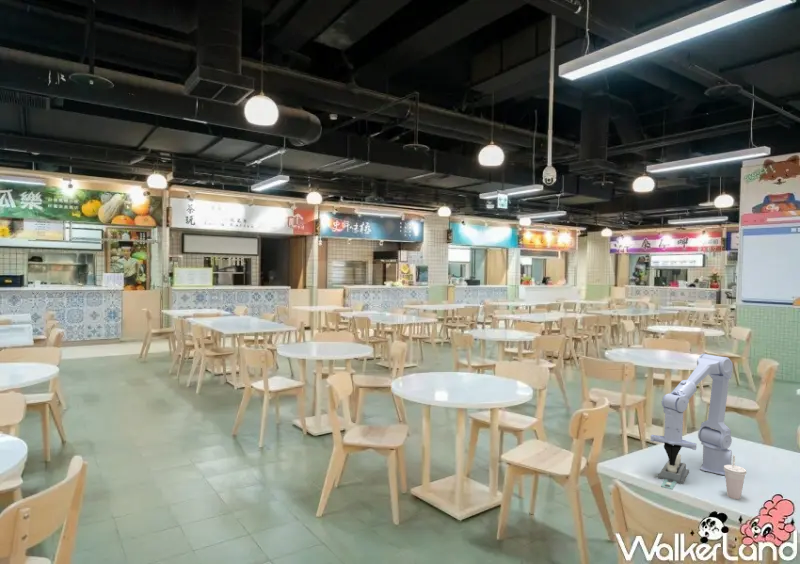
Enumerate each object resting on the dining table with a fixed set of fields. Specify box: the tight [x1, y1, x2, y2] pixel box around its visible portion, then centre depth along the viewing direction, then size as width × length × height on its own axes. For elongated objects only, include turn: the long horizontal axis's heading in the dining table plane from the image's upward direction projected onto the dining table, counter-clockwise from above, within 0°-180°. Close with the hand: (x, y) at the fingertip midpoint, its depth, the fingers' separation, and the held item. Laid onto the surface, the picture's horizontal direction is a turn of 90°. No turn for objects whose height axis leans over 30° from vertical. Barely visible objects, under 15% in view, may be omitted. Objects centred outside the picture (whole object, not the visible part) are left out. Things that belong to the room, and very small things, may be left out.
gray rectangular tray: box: [657, 459, 690, 485], centre depth 185 cm, size 8×14×3 cm, turn 143°
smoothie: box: [724, 454, 747, 500], centre depth 168 cm, size 6×6×14 cm
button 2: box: [677, 453, 682, 466], centre depth 189 cm, size 3×3×4 cm
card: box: [660, 479, 677, 490], centre depth 177 cm, size 4×8×1 cm, turn 143°
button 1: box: [667, 463, 677, 474], centre depth 182 cm, size 3×3×4 cm
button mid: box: [675, 457, 679, 470], centre depth 185 cm, size 3×3×4 cm
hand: (672, 464), depth 182 cm, fingers closed, pressing on button 1
